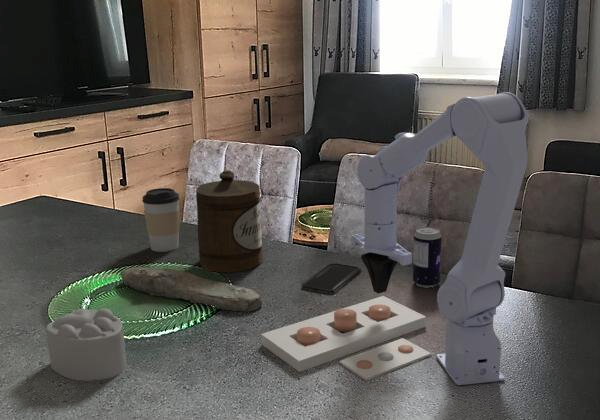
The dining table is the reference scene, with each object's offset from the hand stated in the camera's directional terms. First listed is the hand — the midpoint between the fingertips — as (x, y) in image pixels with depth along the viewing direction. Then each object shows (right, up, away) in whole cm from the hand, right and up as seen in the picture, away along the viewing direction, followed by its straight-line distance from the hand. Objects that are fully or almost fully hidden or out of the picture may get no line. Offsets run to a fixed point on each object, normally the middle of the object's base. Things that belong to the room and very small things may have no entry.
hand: (380, 291), depth 125 cm
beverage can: (+12, -1, +20) cm, 23 cm away
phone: (-8, -1, +24) cm, 25 cm away
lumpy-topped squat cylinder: (-50, -11, -10) cm, 52 cm away
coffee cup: (-49, +5, +47) cm, 68 cm away
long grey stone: (-38, -3, +18) cm, 42 cm away
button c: (-13, -9, -7) cm, 17 cm away
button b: (-7, -6, -3) cm, 9 cm away
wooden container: (-31, +3, +36) cm, 48 cm away
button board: (-7, -8, -2) cm, 10 cm away
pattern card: (0, -10, -11) cm, 15 cm away
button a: (0, -6, +2) cm, 6 cm away
